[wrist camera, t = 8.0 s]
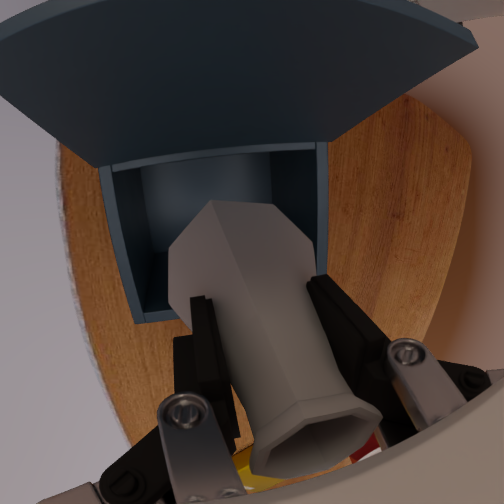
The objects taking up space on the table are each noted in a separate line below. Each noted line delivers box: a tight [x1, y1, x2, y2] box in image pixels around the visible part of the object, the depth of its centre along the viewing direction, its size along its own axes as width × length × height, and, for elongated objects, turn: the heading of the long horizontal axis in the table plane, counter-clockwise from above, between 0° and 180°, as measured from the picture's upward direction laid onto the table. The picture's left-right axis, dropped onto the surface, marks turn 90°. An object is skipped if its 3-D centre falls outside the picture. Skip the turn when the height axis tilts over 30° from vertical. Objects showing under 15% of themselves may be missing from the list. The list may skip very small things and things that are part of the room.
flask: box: [168, 200, 383, 479], centre depth 10 cm, size 7×7×10 cm
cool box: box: [98, 142, 328, 324], centre depth 25 cm, size 12×15×12 cm
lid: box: [0, 0, 479, 168], centre depth 10 cm, size 13×15×1 cm
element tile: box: [232, 445, 286, 492], centre depth 51 cm, size 15×15×5 cm
